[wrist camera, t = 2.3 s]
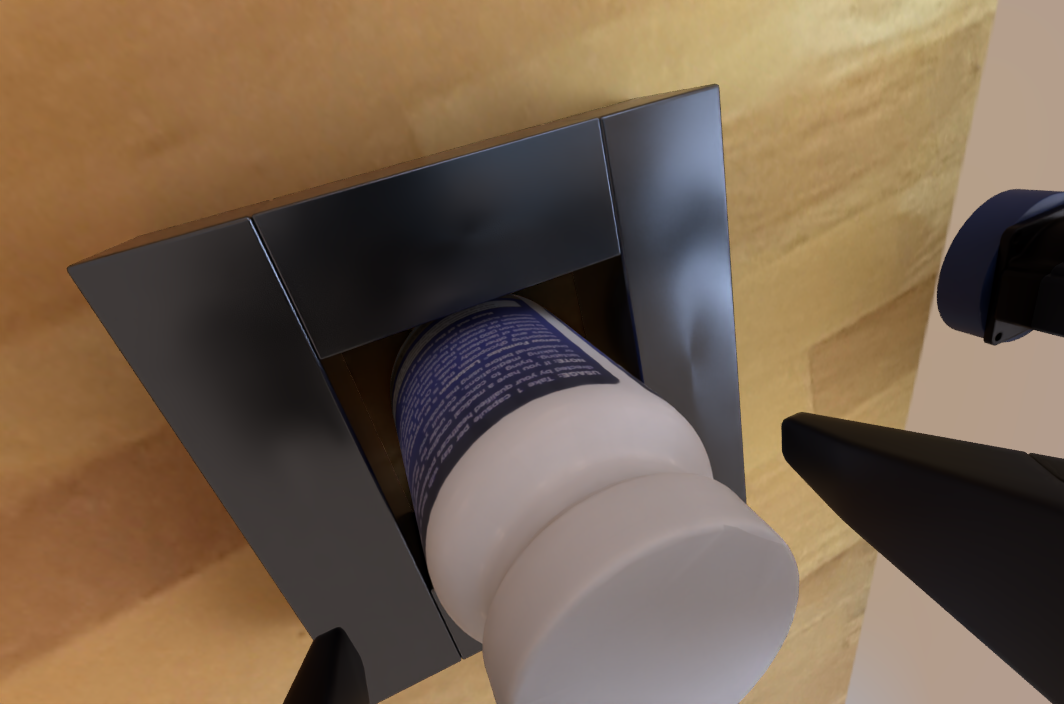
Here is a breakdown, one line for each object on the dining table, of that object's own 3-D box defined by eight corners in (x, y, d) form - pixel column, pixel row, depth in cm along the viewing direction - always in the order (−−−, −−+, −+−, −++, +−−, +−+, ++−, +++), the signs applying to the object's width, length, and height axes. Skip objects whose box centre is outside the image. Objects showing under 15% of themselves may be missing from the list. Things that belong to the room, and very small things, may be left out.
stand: (637, 97, 14) (720, 82, 11) (684, 459, 20) (748, 516, 17) (135, 236, 11) (62, 267, 8) (356, 612, 17) (360, 713, 14)
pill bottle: (366, 447, 15) (405, 854, 6) (417, 263, 14) (558, 460, 5) (536, 468, 17) (734, 783, 9) (594, 313, 16) (897, 504, 7)
